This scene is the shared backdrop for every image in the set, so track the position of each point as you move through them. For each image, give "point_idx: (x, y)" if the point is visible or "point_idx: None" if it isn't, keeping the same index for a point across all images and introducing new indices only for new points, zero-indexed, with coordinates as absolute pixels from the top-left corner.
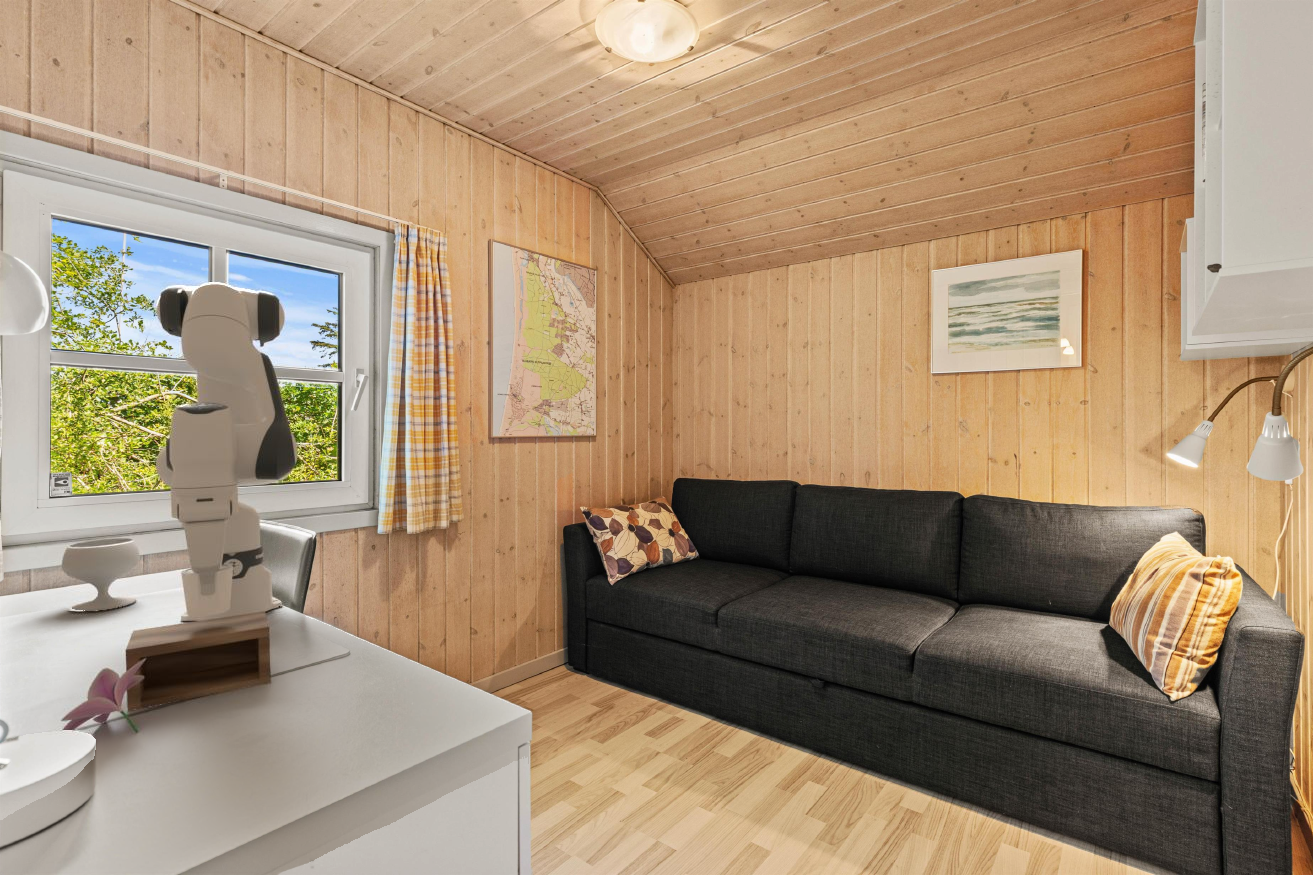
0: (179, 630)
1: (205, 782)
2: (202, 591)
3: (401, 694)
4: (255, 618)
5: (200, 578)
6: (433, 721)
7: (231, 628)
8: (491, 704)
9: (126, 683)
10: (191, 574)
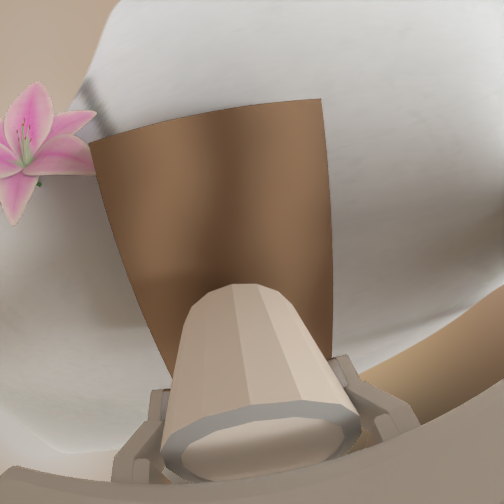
0: (246, 233)
1: None
2: (151, 401)
3: (104, 422)
4: None
5: (125, 445)
6: (48, 424)
7: None
8: (77, 450)
9: (27, 176)
10: (165, 438)
